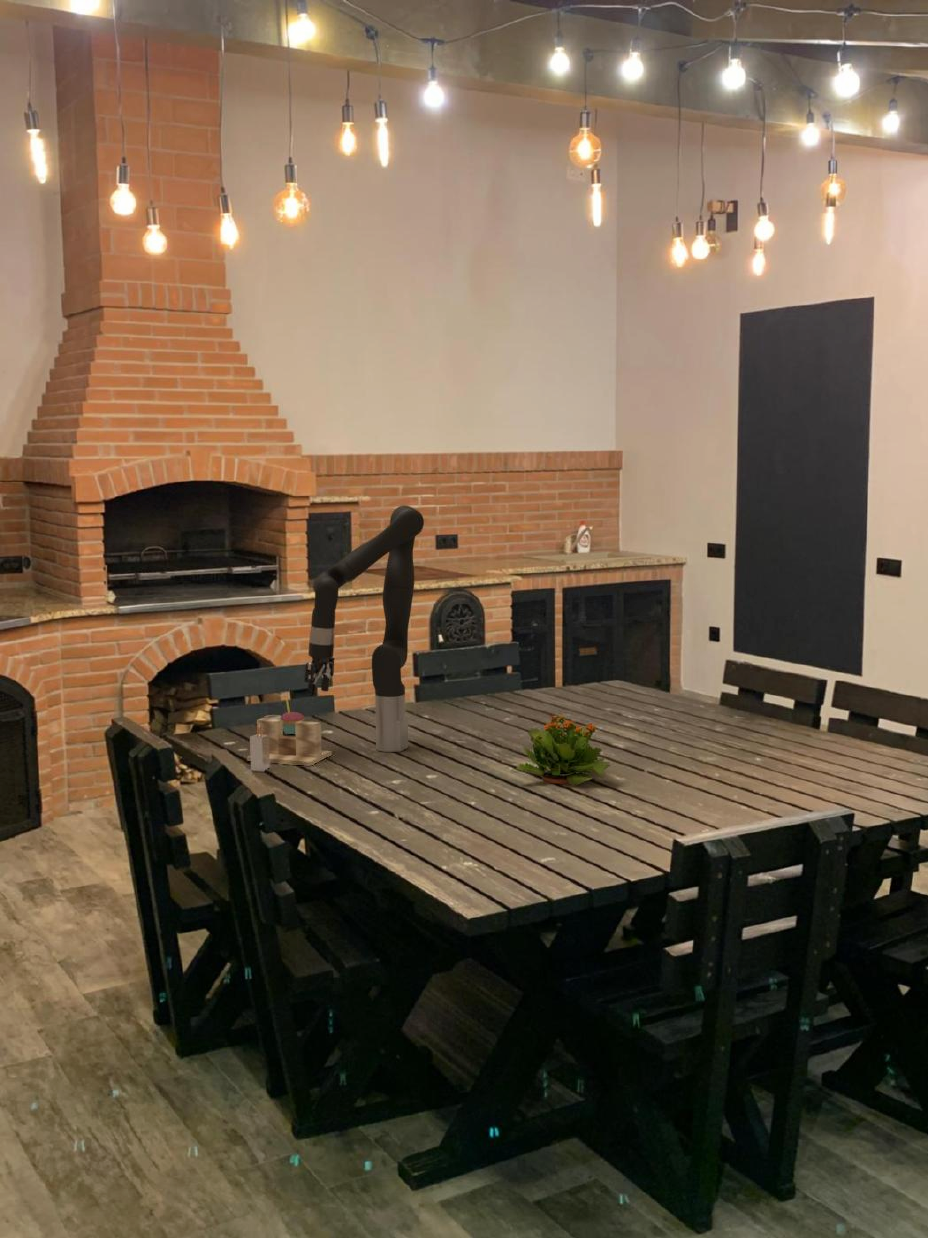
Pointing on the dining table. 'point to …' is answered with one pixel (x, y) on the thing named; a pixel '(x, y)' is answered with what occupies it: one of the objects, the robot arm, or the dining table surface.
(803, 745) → the dining table surface
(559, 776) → the potted flower
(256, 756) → the grey square bottle
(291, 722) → the cupcake
